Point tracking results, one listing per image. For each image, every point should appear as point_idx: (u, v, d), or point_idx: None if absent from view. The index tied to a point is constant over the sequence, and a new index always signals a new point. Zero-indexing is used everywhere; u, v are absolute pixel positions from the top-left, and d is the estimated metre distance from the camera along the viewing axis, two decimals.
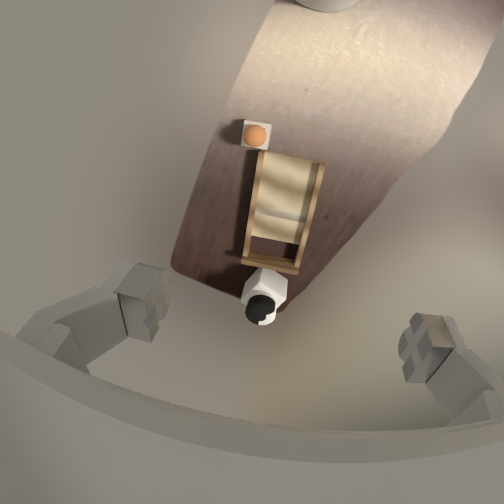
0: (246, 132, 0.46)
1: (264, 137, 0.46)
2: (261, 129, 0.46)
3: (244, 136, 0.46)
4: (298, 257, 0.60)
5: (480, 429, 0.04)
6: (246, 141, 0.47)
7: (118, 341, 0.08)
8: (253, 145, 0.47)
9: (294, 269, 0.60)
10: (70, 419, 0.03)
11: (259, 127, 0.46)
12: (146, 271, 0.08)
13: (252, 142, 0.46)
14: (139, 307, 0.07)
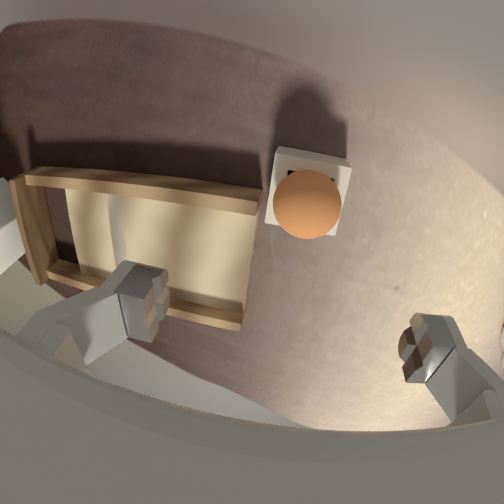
0: (323, 193, 0.15)
1: (304, 238, 0.17)
2: (328, 231, 0.16)
3: (309, 185, 0.15)
4: (60, 278, 0.26)
5: (480, 429, 0.04)
6: (293, 191, 0.15)
7: (118, 341, 0.08)
8: (280, 211, 0.16)
9: (40, 277, 0.25)
10: (70, 419, 0.03)
11: (334, 225, 0.16)
12: (146, 271, 0.08)
13: (292, 213, 0.15)
14: (139, 307, 0.07)
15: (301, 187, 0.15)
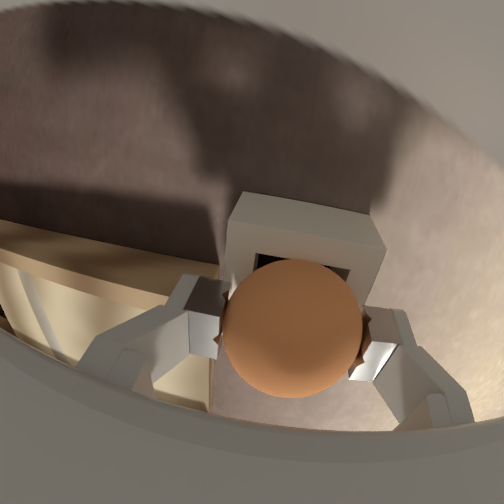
0: (328, 337, 0.06)
1: None
2: None
3: (297, 319, 0.06)
4: None
5: (480, 429, 0.04)
6: (258, 332, 0.07)
7: (181, 360, 0.08)
8: (233, 359, 0.07)
9: None
10: (70, 419, 0.03)
11: None
12: (213, 285, 0.08)
13: (256, 375, 0.07)
14: (212, 325, 0.07)
15: (277, 325, 0.06)
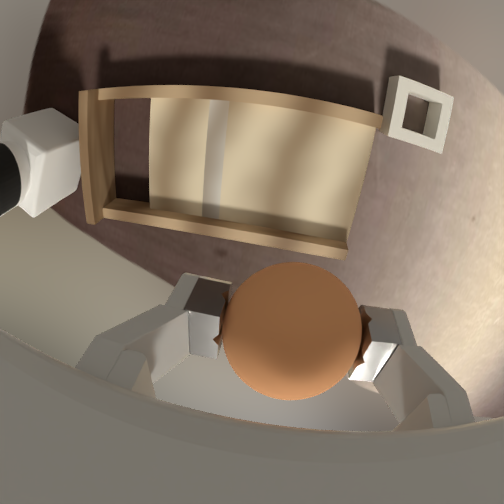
0: (327, 339, 0.06)
1: None
2: None
3: (297, 322, 0.06)
4: (122, 214, 0.24)
5: (480, 429, 0.04)
6: (259, 335, 0.07)
7: (181, 360, 0.08)
8: (233, 361, 0.07)
9: (95, 213, 0.23)
10: (70, 419, 0.03)
11: None
12: (213, 285, 0.08)
13: (257, 377, 0.07)
14: (212, 325, 0.07)
15: (278, 327, 0.06)
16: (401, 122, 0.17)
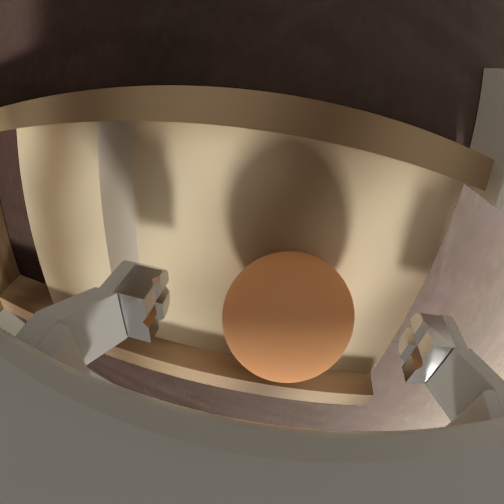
0: (316, 321, 0.07)
1: None
2: None
3: (288, 303, 0.07)
4: (19, 310, 0.13)
5: (480, 429, 0.04)
6: (252, 314, 0.07)
7: (118, 341, 0.08)
8: (229, 341, 0.08)
9: None
10: (70, 419, 0.03)
11: None
12: (146, 271, 0.08)
13: (250, 355, 0.07)
14: (139, 307, 0.07)
15: (270, 308, 0.07)
16: None
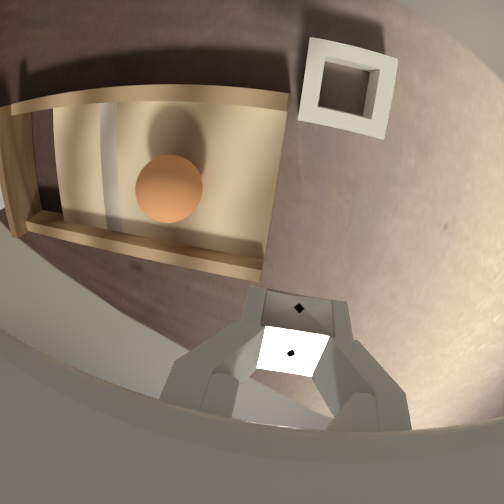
0: (154, 174, 0.14)
1: None
2: (171, 216, 0.16)
3: (149, 166, 0.15)
4: (40, 227, 0.21)
5: (480, 429, 0.04)
6: (140, 172, 0.15)
7: (249, 375, 0.08)
8: None
9: (17, 227, 0.20)
10: (70, 419, 0.03)
11: (176, 211, 0.15)
12: (283, 298, 0.08)
13: (135, 191, 0.15)
14: (288, 339, 0.07)
15: (144, 168, 0.15)
16: (316, 99, 0.13)
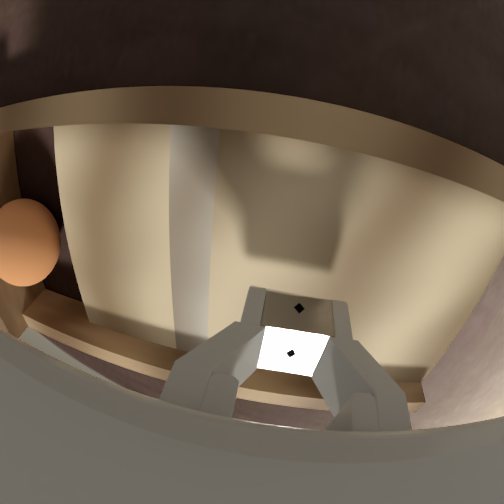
0: None
1: None
2: None
3: None
4: (49, 330, 0.12)
5: (480, 429, 0.04)
6: None
7: (249, 375, 0.08)
8: None
9: (11, 327, 0.11)
10: (70, 419, 0.03)
11: None
12: (283, 298, 0.08)
13: None
14: (288, 339, 0.07)
15: None
16: None
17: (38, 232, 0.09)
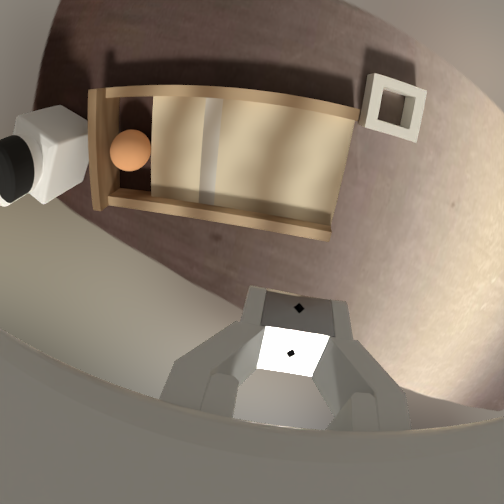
0: (114, 138, 0.23)
1: None
2: (116, 164, 0.24)
3: None
4: (126, 201, 0.27)
5: (480, 429, 0.04)
6: None
7: (249, 375, 0.08)
8: None
9: (101, 201, 0.26)
10: (70, 419, 0.03)
11: (116, 161, 0.23)
12: (283, 298, 0.08)
13: None
14: (288, 339, 0.07)
15: None
16: (377, 115, 0.20)
17: (148, 140, 0.24)
